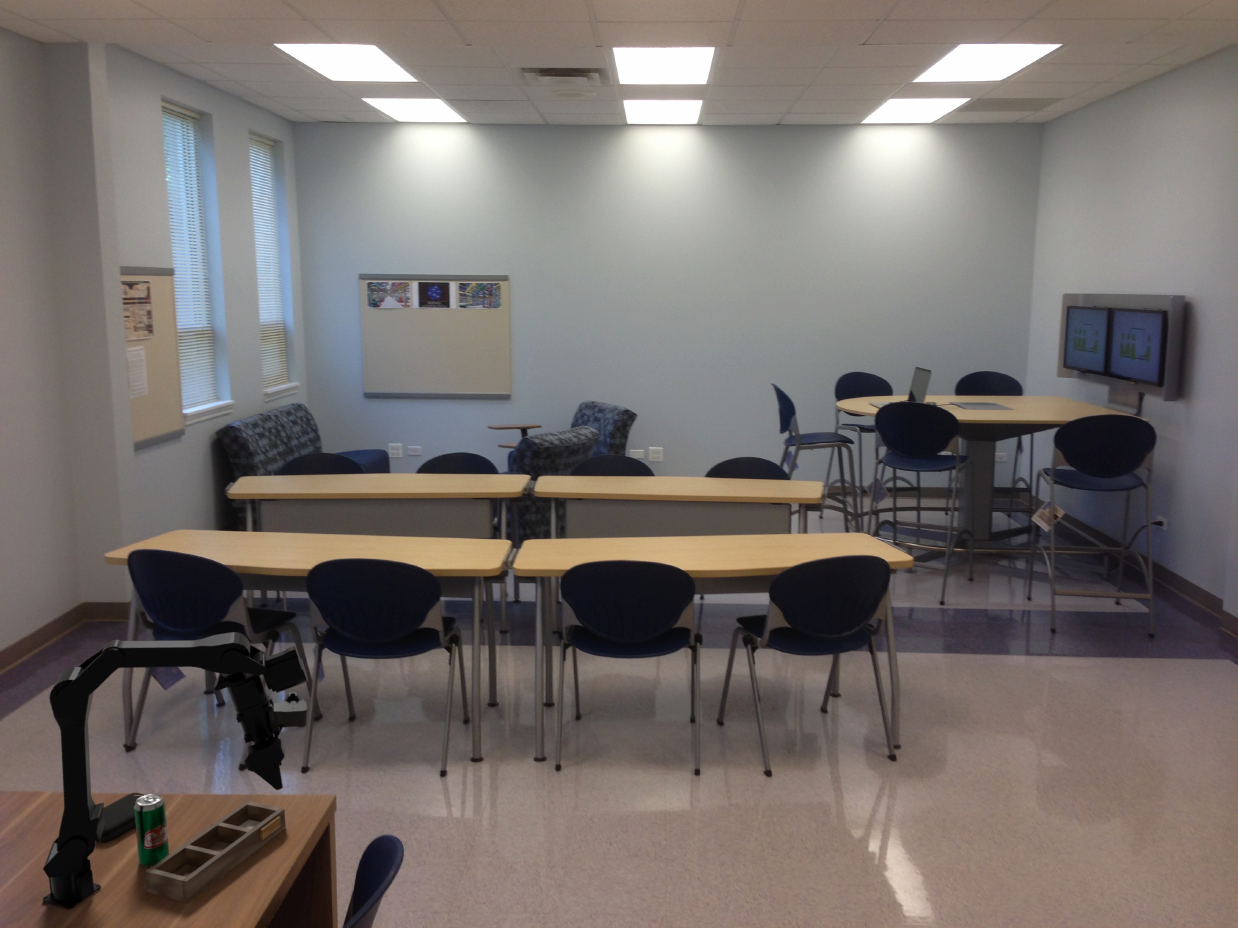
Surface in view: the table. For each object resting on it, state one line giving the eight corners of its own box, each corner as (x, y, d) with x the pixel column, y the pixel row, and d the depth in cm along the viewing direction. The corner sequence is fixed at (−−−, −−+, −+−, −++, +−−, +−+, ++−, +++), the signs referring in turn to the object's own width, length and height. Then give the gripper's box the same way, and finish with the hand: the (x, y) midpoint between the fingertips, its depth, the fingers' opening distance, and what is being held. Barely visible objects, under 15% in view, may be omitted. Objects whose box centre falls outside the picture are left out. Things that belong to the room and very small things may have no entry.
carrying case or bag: (131, 800, 198) (66, 836, 185) (130, 786, 197) (64, 821, 184) (170, 810, 194) (106, 848, 180) (168, 796, 193) (104, 833, 180)
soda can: (147, 871, 173) (141, 809, 171) (133, 861, 176) (127, 800, 174) (174, 858, 177) (169, 797, 175) (160, 849, 180) (155, 789, 178)
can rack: (147, 891, 166) (145, 870, 166) (248, 819, 190) (246, 800, 189) (191, 903, 163) (189, 881, 163) (288, 828, 186) (286, 809, 186)
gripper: (298, 704, 165) (326, 783, 169) (294, 666, 182) (320, 738, 186) (231, 729, 161) (262, 808, 165) (234, 688, 179) (262, 760, 183)
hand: (279, 776), depth 175 cm, fingers open, 9 cm apart
